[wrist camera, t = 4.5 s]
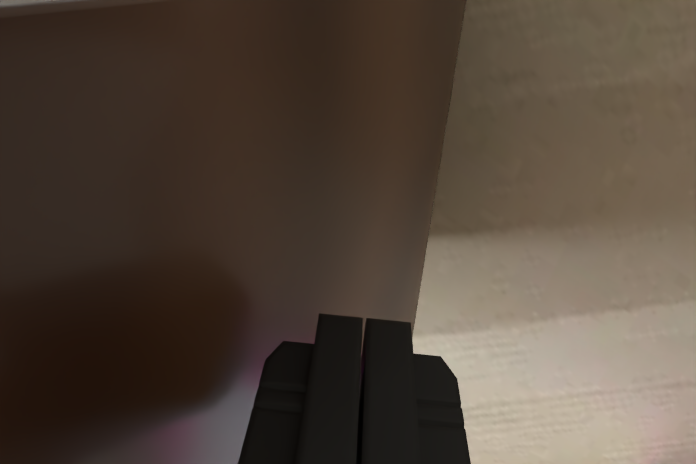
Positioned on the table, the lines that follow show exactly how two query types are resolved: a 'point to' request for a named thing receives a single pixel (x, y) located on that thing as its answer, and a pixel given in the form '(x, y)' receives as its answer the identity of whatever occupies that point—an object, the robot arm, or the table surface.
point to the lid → (201, 206)
